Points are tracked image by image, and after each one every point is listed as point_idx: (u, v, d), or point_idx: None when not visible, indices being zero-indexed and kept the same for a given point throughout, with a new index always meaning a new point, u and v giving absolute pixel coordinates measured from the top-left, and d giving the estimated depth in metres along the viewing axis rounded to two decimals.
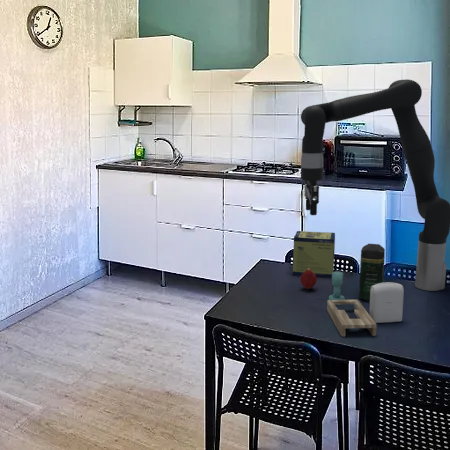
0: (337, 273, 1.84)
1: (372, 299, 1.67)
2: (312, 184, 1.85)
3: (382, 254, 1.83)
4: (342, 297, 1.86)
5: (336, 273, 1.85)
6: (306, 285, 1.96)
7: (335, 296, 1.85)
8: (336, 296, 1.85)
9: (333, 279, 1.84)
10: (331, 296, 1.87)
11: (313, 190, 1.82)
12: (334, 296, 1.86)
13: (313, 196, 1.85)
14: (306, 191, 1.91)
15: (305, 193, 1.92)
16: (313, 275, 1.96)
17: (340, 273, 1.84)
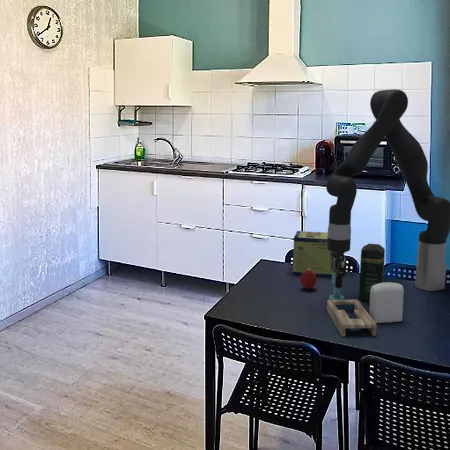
0: None
1: (372, 300, 1.67)
2: (340, 257, 1.79)
3: (382, 254, 1.83)
4: (342, 297, 1.86)
5: None
6: (306, 285, 1.96)
7: (335, 296, 1.85)
8: (336, 296, 1.85)
9: (333, 279, 1.84)
10: (331, 296, 1.87)
11: (340, 267, 1.78)
12: (334, 296, 1.86)
13: None
14: (333, 261, 1.85)
15: (332, 264, 1.85)
16: (313, 275, 1.96)
17: None
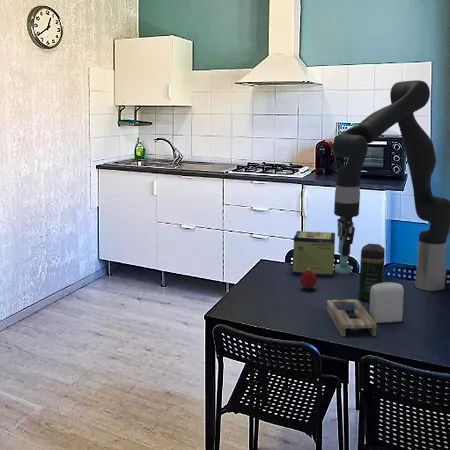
0: None
1: (372, 300, 1.67)
2: (347, 222, 1.66)
3: (382, 254, 1.83)
4: (349, 267, 1.73)
5: None
6: (306, 285, 1.95)
7: (342, 265, 1.73)
8: (343, 265, 1.72)
9: (340, 247, 1.71)
10: (337, 266, 1.74)
11: (348, 232, 1.65)
12: (341, 265, 1.73)
13: None
14: (340, 228, 1.72)
15: (339, 231, 1.72)
16: (313, 275, 1.96)
17: None
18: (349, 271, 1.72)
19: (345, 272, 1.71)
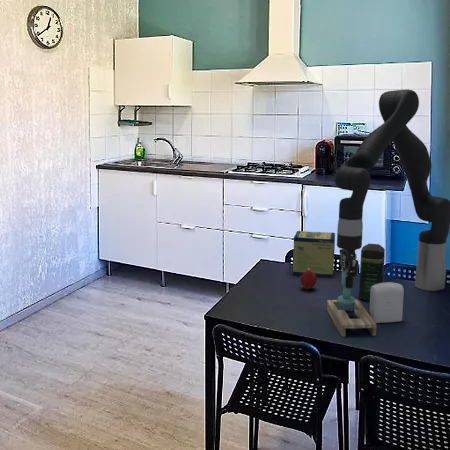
0: None
1: (372, 300, 1.67)
2: (350, 255, 1.65)
3: (382, 254, 1.83)
4: (352, 298, 1.72)
5: None
6: (306, 285, 1.95)
7: (345, 297, 1.72)
8: (346, 297, 1.72)
9: (343, 279, 1.70)
10: (340, 297, 1.73)
11: (351, 265, 1.64)
12: (344, 297, 1.72)
13: None
14: (343, 260, 1.71)
15: (342, 263, 1.72)
16: (313, 275, 1.96)
17: (350, 272, 1.70)
18: (352, 303, 1.71)
19: (348, 304, 1.71)
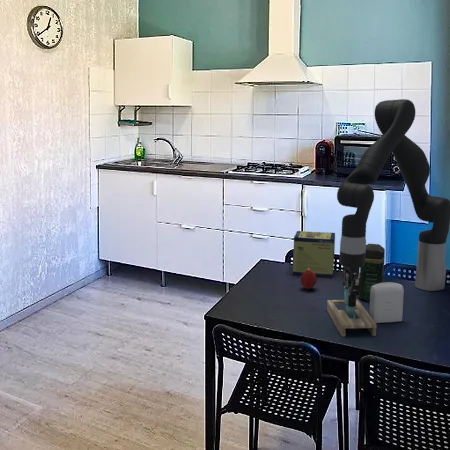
0: None
1: (372, 300, 1.67)
2: (353, 273, 1.61)
3: (382, 254, 1.83)
4: (355, 317, 1.68)
5: None
6: (306, 285, 1.95)
7: (348, 316, 1.68)
8: (349, 316, 1.68)
9: (345, 297, 1.67)
10: None
11: (354, 284, 1.60)
12: None
13: None
14: (345, 278, 1.67)
15: (344, 280, 1.68)
16: (313, 275, 1.96)
17: (353, 290, 1.67)
18: None
19: None
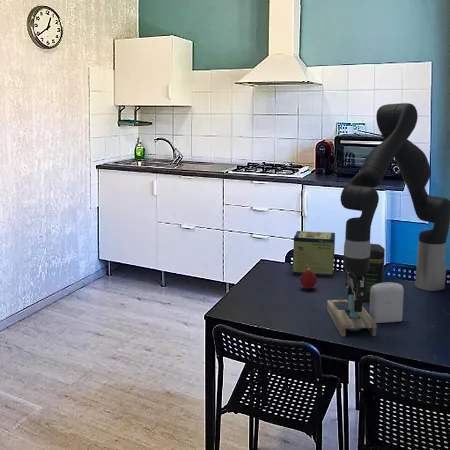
0: None
1: (372, 300, 1.67)
2: (358, 276, 1.58)
3: (382, 254, 1.83)
4: None
5: (353, 296, 1.63)
6: (306, 285, 1.95)
7: None
8: None
9: (350, 303, 1.63)
10: None
11: (359, 286, 1.55)
12: None
13: None
14: (349, 281, 1.64)
15: (347, 283, 1.65)
16: (313, 275, 1.96)
17: None
18: (360, 328, 1.64)
19: (355, 329, 1.63)
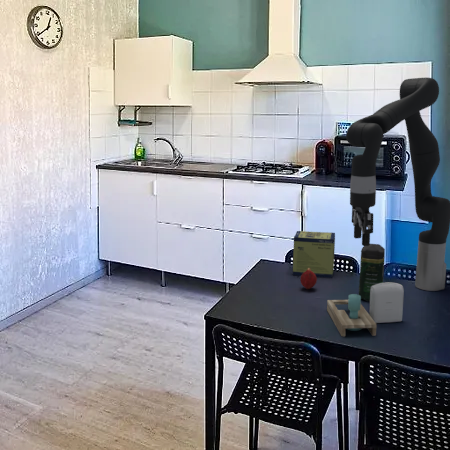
0: (354, 296, 1.63)
1: (372, 300, 1.67)
2: (364, 211, 1.63)
3: (382, 254, 1.83)
4: None
5: (353, 296, 1.63)
6: (306, 285, 1.95)
7: None
8: None
9: (350, 303, 1.63)
10: None
11: (367, 218, 1.61)
12: None
13: None
14: (355, 218, 1.70)
15: (354, 220, 1.70)
16: (313, 275, 1.96)
17: (357, 296, 1.63)
18: (360, 328, 1.64)
19: (355, 329, 1.63)
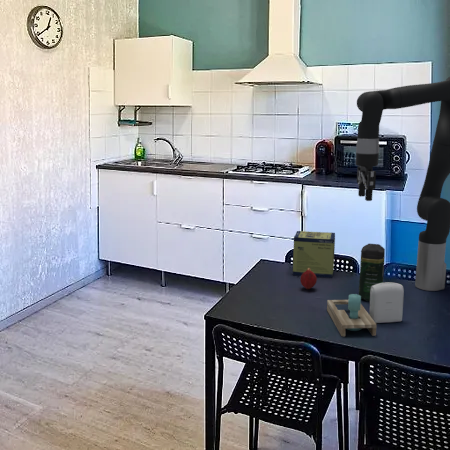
0: (354, 296, 1.63)
1: (372, 300, 1.67)
2: (368, 170, 1.85)
3: (382, 254, 1.83)
4: None
5: (353, 296, 1.63)
6: (306, 285, 1.95)
7: None
8: None
9: (350, 303, 1.63)
10: None
11: (370, 175, 1.83)
12: None
13: None
14: (360, 177, 1.92)
15: (359, 179, 1.92)
16: (313, 275, 1.96)
17: (358, 296, 1.63)
18: (360, 328, 1.64)
19: (355, 329, 1.63)
